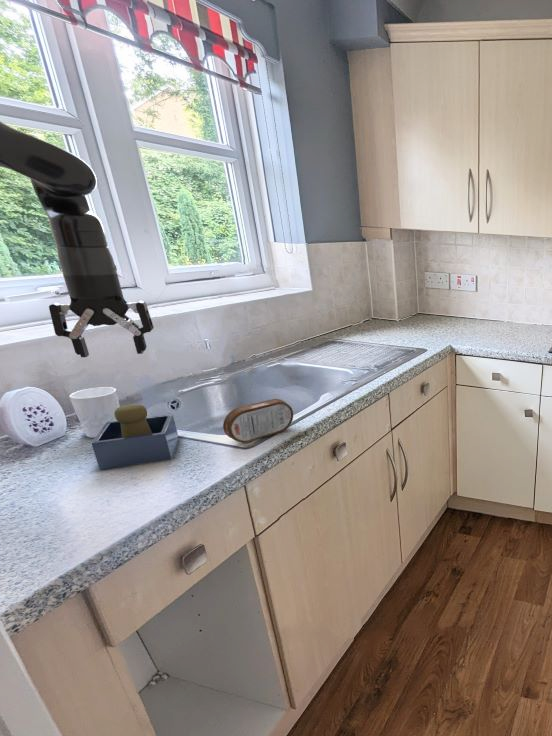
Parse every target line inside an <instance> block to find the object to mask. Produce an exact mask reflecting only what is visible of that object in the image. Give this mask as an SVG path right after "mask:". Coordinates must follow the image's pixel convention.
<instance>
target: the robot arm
mask: <svg viewBox="0 0 552 736" xmlns="http://www.w3.org/2000/svg"><path fill="white" fill-rule="evenodd" d="M0 168H4V169H7V170H10V171H12V172H15V173H17V174H20V175H21V176H24V177H26V178H29V180H30V183H31V186H32V188H33V191H34V192H35V196H36V197H37V199H38V201H39V203H40V205H41V207H42V209H43V212H44V213H45V214H46V216H47V219H48V222H49V226H50V231H51V233H52V237H53V240H54V244H55V246H56V253H57V259H58V263H59V266H60V269H61V272H62V276H63V279H64V283H65V286H66V289H67V293H68V296H69V299H70V303H61V302H54V303H52V304H49V306H48V309H49V314H50V318H51V322H52V326H53V330H54V334H55V336H57V337H64V338H68V339H70V340H71V343H72V347H73V349H74V352H75V354H76V355H77V356H80V357H81V358H88V357H89V356H90V353H89V349H88V346H87V343H86V339H85V337H84V336H82V335H83V333H84V332H85V331H86V329H87V328H88V327H89V326H90V325H91V326H93V327H100V326H115V325H119V326H121V327H122V328H124V329H126V330H128V331H129V332H130V333H132V334H133V336H132V339H133V342H134V346H135V350H136V354H137V355H142V354H144V352H145V351H146V350H147V347H148V346H147V343H146V342H147V341H146V338H145V334H147V333H151V332H152V331H153V329H154V324H153V320H152V318H151V317H152V316H151V315H150V310H149V308H148V305H147V302H146V301H145V300H139V301H136V302H135V301H134V302H127V301H126V300H125V297H124V293H123V291H122V287H121V282H120V279H119V274H118V269H117V265H116V264H115V261H114V258H113V255H112V253H111V250H110V248H109V245H108V240H107V236H106V233H105V229H104V226H103V224H102V221H101V219H100V218H99V217H98V216H97V215H95V214H94V213H93V211H92V208H91V206H90V204H89V200H88V198H87V196H88V195H90V194H92V193H93V192H94V191H95V190H96V187H97V183H98V181H97V177H96V176H97V175H96V174H95V172H94V170H93V168H91V166H90V165H89V164H88V163H87V162H85V161H84V160H83V159H81V158H80V157H78V156H77V155H75V154H73V153H72V152H70V151H67V150H65V149H63V148H61V147H59V146H57V145H55V144H52V143H50V142H47V141H45V140H42V139H41V138H38V137H35V136H33V135H31V134H28V133H25V132H22V131H20V130H18V129H16V128H13V127H12V126H10V125H7V124H6V123H4V122H3V121H0ZM129 309H131V311H133V313H135V314H138V316H139V319H140V322H141V325H142V326H140V325H139V324H137V323H135V320H133V319H132V318H130V317H129V316H128V315H126V314H127V312H128V311H129ZM69 311H71V312H72V313H73V314H74V315H76V316H77V317H79V319H78V320H77V322H76V323H75V324H74V327H73V328H72V329H70V328H68V324H67V318H66V315H68V314H69Z"/></svg>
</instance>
